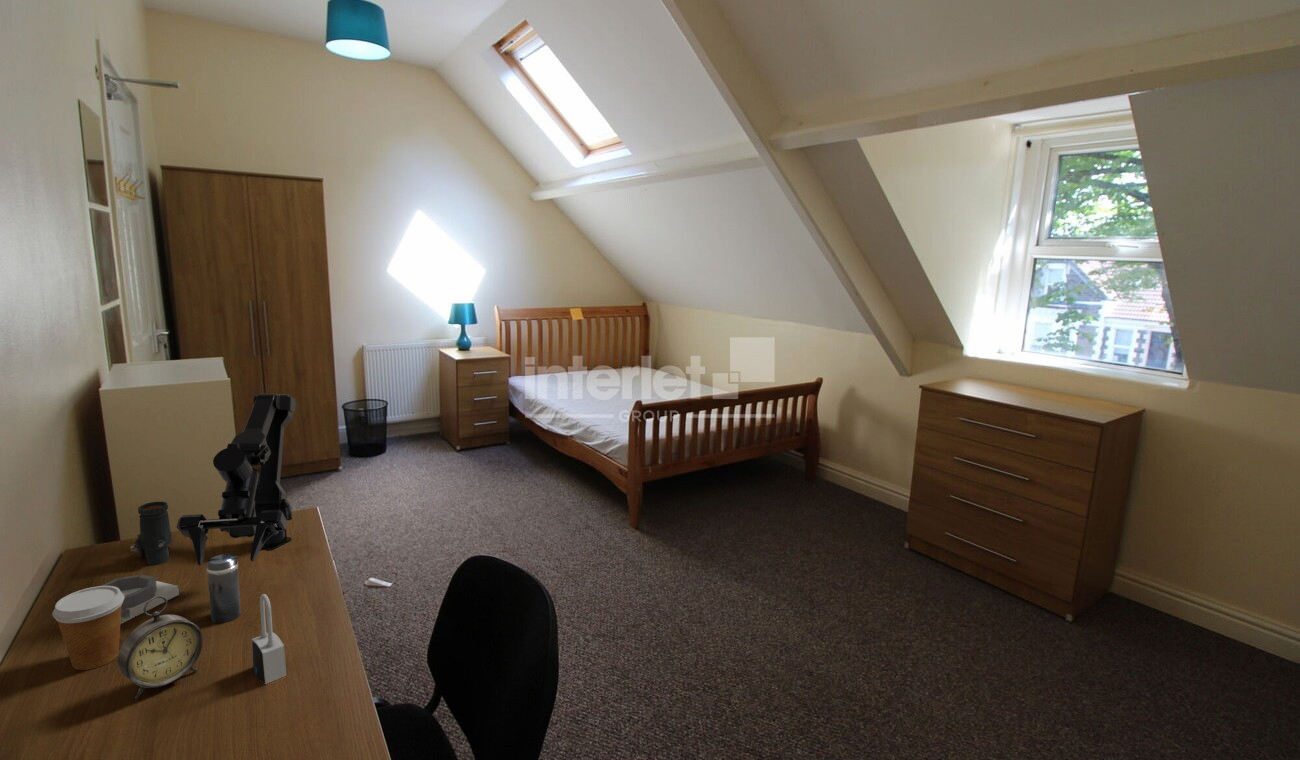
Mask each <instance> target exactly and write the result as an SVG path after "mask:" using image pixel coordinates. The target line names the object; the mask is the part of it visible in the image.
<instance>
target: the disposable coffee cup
mask: <svg viewBox="0 0 1300 760" xmlns="http://www.w3.org/2000/svg"><path fill="white" fill-rule="evenodd" d="M123 600H124V594H123V593H121V591H120V589H119V588H117V587H114V586H101V585H99V586H91V587H87V588H83V589H80V590H76V591H74V592H72V593H70V594H67V595H66V596H64V597H62V598H60V599H59V600H58V601H57V602H56V603H55V605H54V609H53V610H52V613H51V614H52V617H53V618H54V619H55V620H56V622H57V623H58V628H59V630H60V634H61V635H62V639H63V642H64V645H65V648H66V651H67V654H68V657H69V660H70V663H71V666H72V668H73V669H74V670H77V671H78V670H79V671H86V670H87V671H88V670H92V669H95V668H100V667H102V666H105V665H107V664H109V663H111V662H112V661H114V660H115V659H116V658H118V654H119V651H120V639H121V638H120V637H121V635H120V634H121V625H122V624H121V605H122V603H123Z"/></svg>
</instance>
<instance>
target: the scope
mask: <svg viewBox="0 0 1300 760" xmlns="http://www.w3.org/2000/svg"><path fill="white" fill-rule="evenodd" d="M168 509H169V504H168V502H166V501H152V502H147V503H144V504H141V505H139V506H138V508H137V513H138V514H139V534H137V539H136V540H135V541H134V542H133V544H131V545H130V547H129V549H130V551H131V552H138V556H139V557H140V558H141V559H143V558H145V559H146V563H147V565H149V566H157V565H162V564H164V563H165V564H166V563H167V562H168V561H169V560H170V555H169V550H170V546H169V545H171V544H172V543H173V540H174V539H173V538H172V531H171V525H170V518H169V511H168Z"/></svg>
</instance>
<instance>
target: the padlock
mask: <svg viewBox="0 0 1300 760" xmlns="http://www.w3.org/2000/svg"><path fill="white" fill-rule="evenodd" d="M271 605H272V604H271V602H270V599H269V597H268V595H267V594H265V593H262V594H261V595H260V597H259V610H260V613H259V615H260V627H261V633H260V636H257V637H253V638H251V655H252V656H251V657H252V661H251V662H252V669H253V671H254V675H255V678H256V677H257V678H256V679H258V680H259V681H260V680H261V681H263V682H262V684H264V683H265V684H267V683H269V682H272V681H274V680H277V679H279V678H281V677H284V676H287V668H286V667H287V665H286V656H285V655H286V654H285V645H284V643H283V642H282V640H281V639H280V637H279V636H278V635H277V634H276V633H275V632H273V620H272V619H273V618H272V606H271ZM266 623H267V624H266ZM284 678H285V677H284ZM261 681H260V682H261ZM277 681H278V680H277ZM272 683H273V682H272ZM265 684H264V685H265Z"/></svg>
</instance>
